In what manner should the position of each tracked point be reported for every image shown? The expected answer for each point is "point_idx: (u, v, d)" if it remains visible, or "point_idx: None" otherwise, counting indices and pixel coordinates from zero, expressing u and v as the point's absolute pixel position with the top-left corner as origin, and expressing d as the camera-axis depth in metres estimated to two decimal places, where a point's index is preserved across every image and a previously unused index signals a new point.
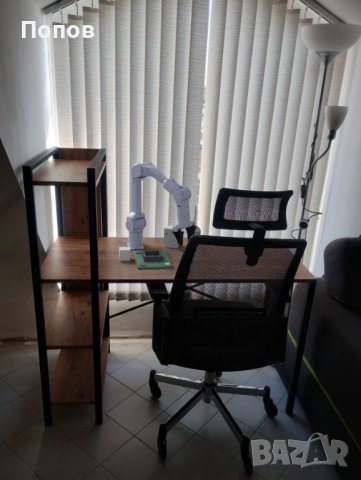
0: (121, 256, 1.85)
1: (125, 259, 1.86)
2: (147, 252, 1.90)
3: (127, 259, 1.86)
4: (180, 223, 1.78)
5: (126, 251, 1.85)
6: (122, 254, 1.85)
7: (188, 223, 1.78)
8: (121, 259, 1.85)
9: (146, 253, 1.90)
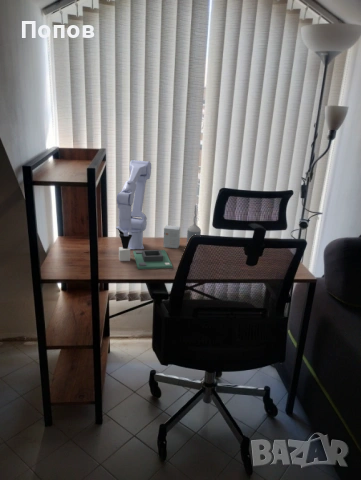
0: (121, 256, 1.85)
1: (125, 259, 1.86)
2: (147, 252, 1.90)
3: (127, 259, 1.86)
4: None
5: (126, 251, 1.85)
6: (122, 254, 1.85)
7: None
8: (121, 259, 1.85)
9: (146, 253, 1.90)
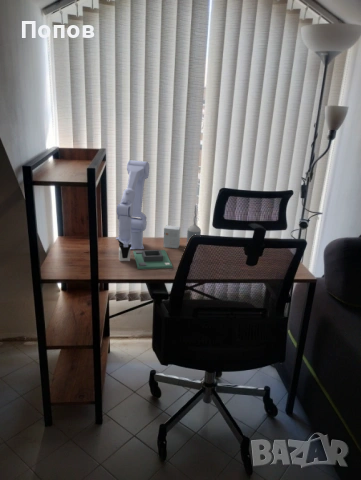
0: (121, 256, 1.85)
1: (125, 259, 1.86)
2: (147, 252, 1.90)
3: (127, 259, 1.86)
4: None
5: None
6: None
7: None
8: (121, 259, 1.85)
9: (146, 253, 1.90)
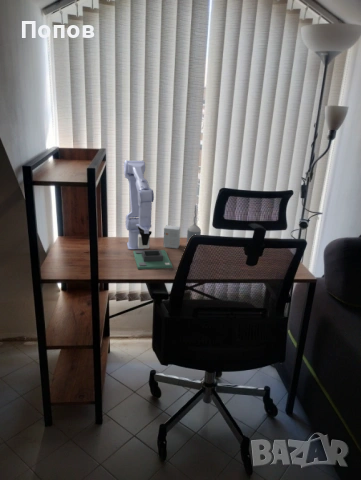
0: (141, 243, 1.83)
1: (144, 246, 1.84)
2: (147, 252, 1.90)
3: (146, 246, 1.84)
4: None
5: None
6: None
7: (138, 223, 1.82)
8: (140, 246, 1.84)
9: (146, 253, 1.90)
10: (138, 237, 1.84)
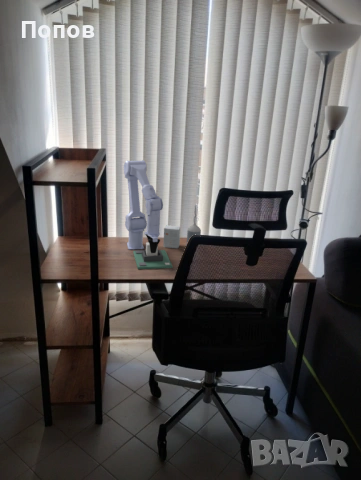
0: (149, 251, 1.85)
1: (152, 254, 1.86)
2: None
3: (154, 254, 1.86)
4: None
5: None
6: None
7: (147, 231, 1.84)
8: (149, 254, 1.85)
9: None
10: (146, 245, 1.85)
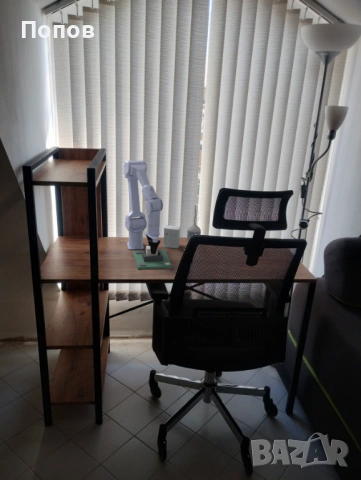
0: (149, 254, 1.85)
1: None
2: None
3: None
4: None
5: None
6: (150, 252, 1.85)
7: (147, 231, 1.84)
8: None
9: None
10: (146, 249, 1.86)
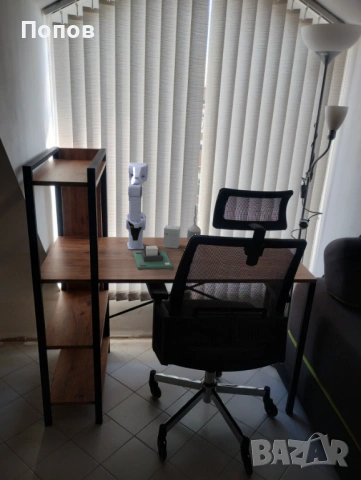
0: (149, 254, 1.85)
1: None
2: None
3: None
4: None
5: (154, 250, 1.85)
6: (150, 252, 1.85)
7: (128, 218, 1.86)
8: None
9: None
10: (146, 249, 1.86)
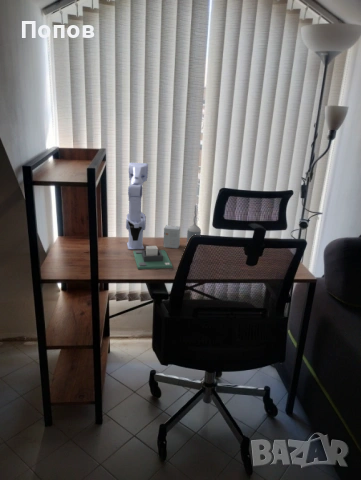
0: (149, 254, 1.85)
1: None
2: None
3: None
4: None
5: (154, 250, 1.85)
6: (150, 252, 1.85)
7: (128, 218, 1.86)
8: None
9: None
10: (146, 249, 1.86)
